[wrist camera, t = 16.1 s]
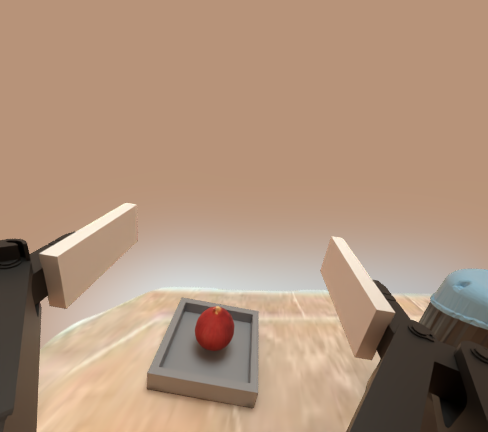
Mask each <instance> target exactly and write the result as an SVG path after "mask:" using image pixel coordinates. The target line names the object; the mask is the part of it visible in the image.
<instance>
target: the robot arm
mask: <svg viewBox="0 0 488 432" xmlns="http://www.w3.org/2000/svg"><path fill="white" fill-rule="evenodd" d="M137 241H138V231H137V205H136V204H130V203H124V204H123V205H121V206H119V207H118V208H116V209H114V210H112V211H111V212H109V213H107V214H106V215H104V216H102V217H101V218H99V219H97V220H95V221H94V222H92V223H90V224H89V225H87V226H85V227H84V228H82V229H80V230H78V231H77V232H72V233H68V234H65V235H63V236H61V237H59V238H58V239H56V240H55V241H52V242H51V243H49V244H48V245H46V246H44V247H42V248H40V249H38V250H37V251H35V252H33V253H31V254H29V250H28V246H27V243H26V241H24V240H21V239H6V240H0V432H36V428H37V403H38V379H39V354H40V329H41V304H40V301H41V300H43V299H44V298H45V297H46V296H48V300H49V304H50V306H53V307H59V308H64V309H67V308H68V307H69V306H70V305H71V304H72V303H73V302H74V301H75V300H76V299H77V298H78V297H79V296H80V295H81V294H82V293H83V292H84V291H85V290H86V289H88V287H90V286H91V285H92V284H93V283H94V282H95V281H96V280H97V279H98V278H99V277H100V276H101V275H102V274H103V273H104V272H105V271H107V270H108V269H109V268H110V267H111V266H112V265H113V264H114V263H115V262H116V261H117V260H118V259H119V258H120V257H121V256H122V255H123V254H124V253H125V252H126V251H127V250H129V249H130V248H131V247H132V246H133V245H134V244H135V243H136V242H137ZM320 271H321V274H322V276H323V279H324V281H325V284H326V286H327V289H328V291H329V294H330V296H331V299H332V301H333V304H334V306H335V309H336V311H337V314H338V316H339V319H340V322H341V324H342V327H343V329H344V332H345V334H346V337H347V339H348V342H349V344H350V347H351V349H352V352H353V354H354V357H356V358H362V359H368V360H372V359H373V357H374V355H375V353H376V351H377V352H378V354H379V356H380V358H381V360H380V362H379V364H378V366H377V368H376V369H375V370H374V372H373V373H372V375H371V377H370V379H369V381H368V383H367V387H366V391H365V393H364V395H363V397H362V400H361V402H360V404H359V406H358V408H357V410H356V412H355V414H354V416H353V418H352V421H351V423H350V425H349V427H348V429H347V431H346V432H488V270H485V269H461V270H457V271H454V272H452V273H451V274H449V275H448V276H447V277H446V278H445V280H444V281H443V283H442V284H441V286H440V287H439V289H438V290H437V292H435V293H434V294H433V295H432V296H431V298H430V299H431V300H430V301H431V302H430V303H429V305H428V307H427V309H426V311H425V312H424V314H423V316H422V318H421V320H420V321H419V323H418V322H416V321H414V320H410V318H409V317H408V316H407V314H406V313H405V312H404V310H403V309H402V308H401V306H400V305H399V304H398V302H396V300H395V298H394V297H393V296H391V293H390V292H389V291H388V289H387V288H386V287H385V286H384V285H382V284H381V283H380V282H379V281H376V280H372V279H371V277H369V275H368V274H367V272H366V270H365V269H364V268H363V266H362V265H361V263H360V262H359V260H358V259H357V258H356V256H355V255H354V253H353V252H352V251H351V249H350V248H349V246H348V245H347V243H346V242H345V241H344V239H343V238H339V237H333V236H332V237H331V239H330V242H329V245H328V248H327V252H326V255H325V258H324V261H323V264H322V268H321V270H320Z"/></svg>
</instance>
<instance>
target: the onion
mask: <svg viewBox="0 0 488 432" xmlns="http://www.w3.org/2000/svg"><path fill="white" fill-rule="evenodd" d="M233 335H234V322H233V319H232V316H231V314H230V313H229V312H228V311H227V310H226V309H224V308H222V307H219V306H216V307H210V308H208V309H207V310H205V311H204V312H203V313H202V314H201V315H200V317H199V318H198V320H197V323H196V327H195V336H196V340H197V341H198V343H199V344H200V345H201V347H203V348H205V349H207V350H211V351H218V350H221V349H223V348H225V347H226V346H227V345H228V344H229V343H230V341H231V340H232V337H233Z"/></svg>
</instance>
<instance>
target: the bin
mask: <svg viewBox="0 0 488 432" xmlns="http://www.w3.org/2000/svg"><path fill="white" fill-rule="evenodd" d="M216 306H219V307H222V308H224V309H226V310H227V311H228V312H229V313H230V314H231V316H232V319H233V322H234V335H233V337H232V340H231V341H230V343H229V344H228V345H227V346H226V347H225V348H223V349H221V350H218V351H211V350H207V349H205V348H203V347H201V345H200V344H199V343H198V341H197V340H196V336H195V327H196V323H197V320H198V318H199V317H200V315H201V314H202V313H203V312H204V311H205V310H207V309H208V308H210V307H216ZM147 389H150V390H156V391H161V392H167V393H172V394H178V395H184V396H189V397H195V398H200V399H206V400H211V401H217V402H222V403H228V404H234V405H239V406H245V407H250V408H254V405H255V402H256V398H257V395H258V311H254V310H248V309H243V308H237V307H232V306H226V305H221V304H215V303H210V302H204V301H199V300H193V299H188V298H181V301H180V303H179V305H178V307H177V309H176V312H175V314H174V316H173V318H172V320H171V323H170V325H169V327H168V329H167V331H166V334H165V336H164V338H163V340H162V342H161V345H160V347H159V349H158V351H157V353H156V355H155V358H154V360H153V362H152V364H151V366H150V369H149V371H148V374H147Z"/></svg>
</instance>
